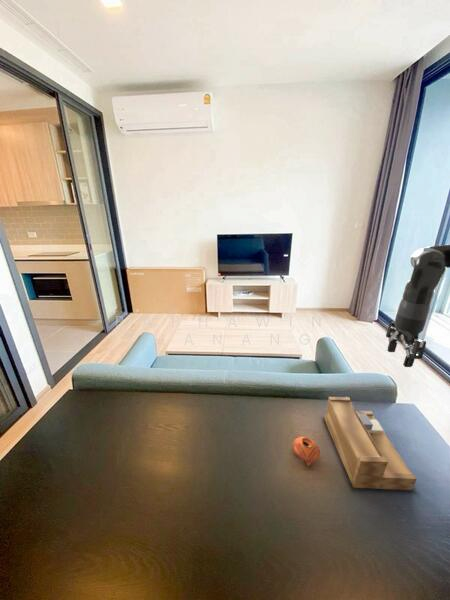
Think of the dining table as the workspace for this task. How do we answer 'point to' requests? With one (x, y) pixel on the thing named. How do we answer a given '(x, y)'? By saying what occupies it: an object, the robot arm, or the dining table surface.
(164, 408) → the dining table surface
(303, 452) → the pot
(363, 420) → the block chair shape
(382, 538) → the dining table surface
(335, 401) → the stepped wooden ledge
